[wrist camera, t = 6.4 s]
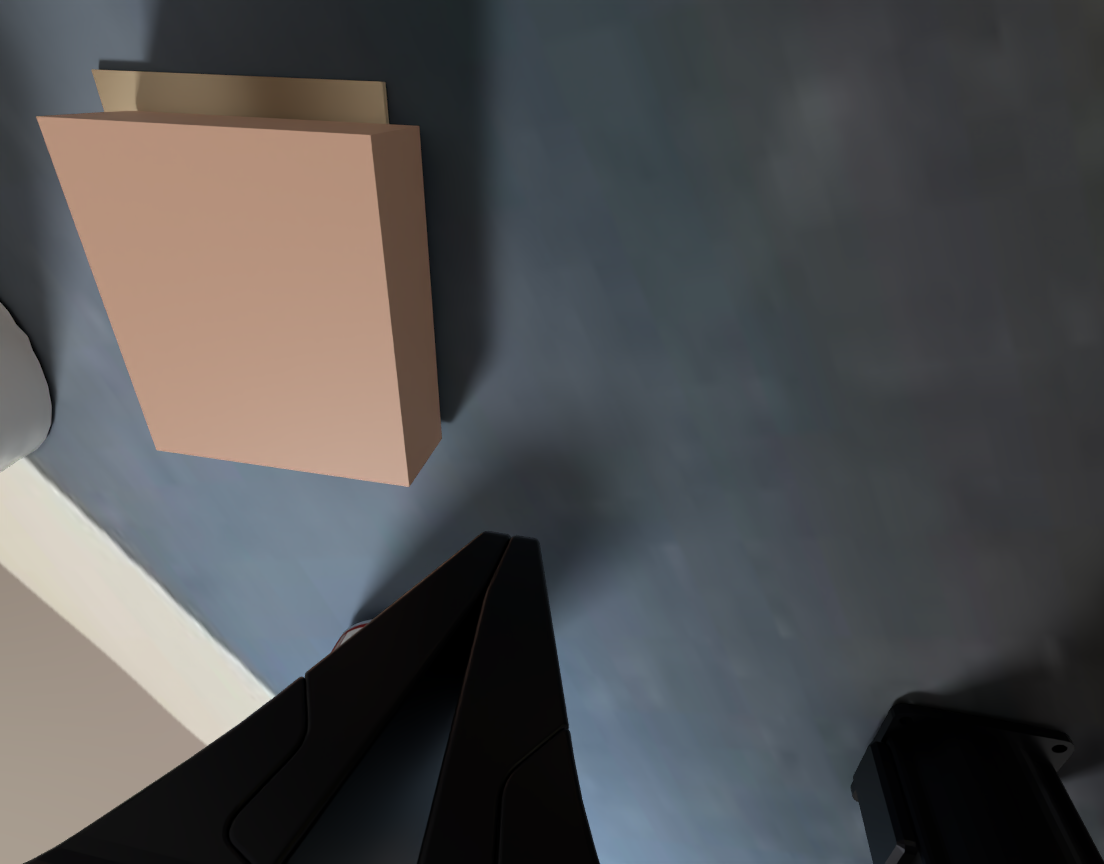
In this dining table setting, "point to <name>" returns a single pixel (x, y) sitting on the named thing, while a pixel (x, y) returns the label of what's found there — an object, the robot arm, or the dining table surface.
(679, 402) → the dining table surface
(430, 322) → the block
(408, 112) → the dining table surface
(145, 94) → the tan wooden flat board
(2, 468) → the toilet tissue
